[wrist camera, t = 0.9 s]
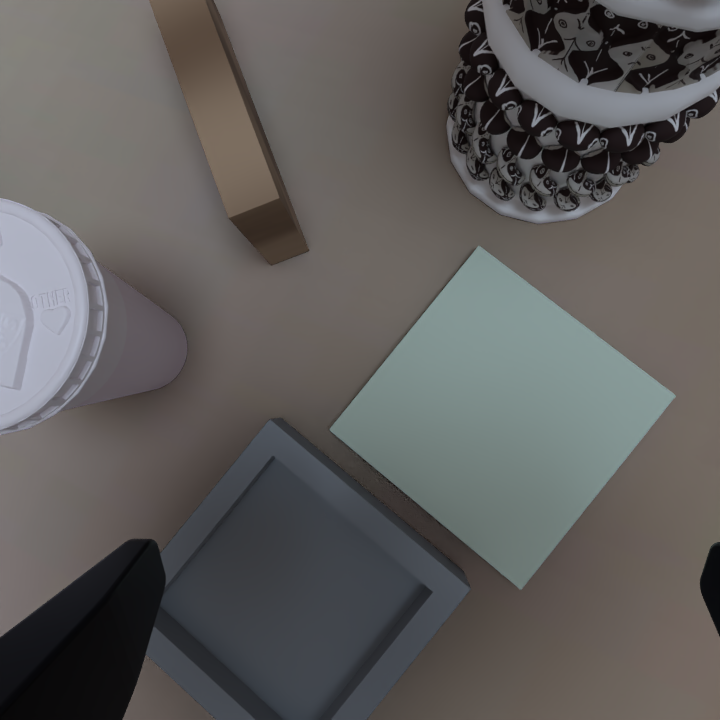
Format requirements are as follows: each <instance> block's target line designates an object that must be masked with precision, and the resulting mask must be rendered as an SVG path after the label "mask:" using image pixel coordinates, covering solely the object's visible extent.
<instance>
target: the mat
mask: <svg viewBox="0 0 720 720" xmlns="http://www.w3.org/2000/svg"><path fill="white" fill-rule="evenodd" d="M675 396H676V395H674V394H673V393H672V392H671V391H669V390H668V389H667V388H665V387H664V386H663V385H661V384H660V383H659V382H657V381H656V380H655V379H653V378H652V377H651V376H650V375H648V374H647V373H646V372H644V371H643V370H642V369H640V368H639V367H638V366H636V365H635V364H634V363H632V362H631V361H630V360H629V359H627V358H626V357H625V356H623V355H622V354H621V353H619V352H618V351H617V350H615V349H614V348H613V347H611V346H610V345H609V344H608V343H606V342H605V341H604V340H602V339H601V338H600V337H598V336H597V335H596V334H594V333H593V332H592V331H590V330H589V329H588V328H587V327H585V326H584V325H583V324H581V323H580V322H579V321H577V320H576V319H575V318H573V317H572V316H571V315H569V314H568V313H567V312H566V311H564V310H563V309H562V308H560V307H559V306H558V305H556V304H555V303H554V302H552V301H551V300H550V299H548V298H547V297H546V296H545V295H543V294H542V293H541V292H539V291H538V290H537V289H535V288H534V287H533V286H531V285H530V284H529V283H527V282H526V281H525V280H524V279H522V278H521V277H520V276H518V275H517V274H516V273H514V272H513V271H512V270H510V269H509V268H508V267H506V266H505V265H504V264H503V263H501V262H500V261H499V260H497V259H496V258H495V257H493V256H492V255H491V254H489V253H488V252H487V251H485V250H484V249H483V248H482V247H480V246H478V247H477V248H476V250H475V251H474V252H473V253H472V255H471V256H470V257H469V258H468V260H467V261H466V262H465V263H464V264H463V266H462V267H461V268H460V269H459V271H458V272H457V273H456V274H455V275H454V277H453V278H452V279H451V280H450V282H449V283H448V284H447V285H446V287H445V288H444V289H443V290H442V291H441V293H440V294H439V295H438V296H437V298H436V299H435V300H434V301H433V303H432V304H431V305H430V306H429V307H428V309H427V310H426V311H425V312H424V314H423V315H422V316H421V317H420V319H419V320H418V321H417V322H416V323H415V325H414V326H413V327H412V328H411V330H410V331H409V332H408V333H407V335H406V336H405V337H404V338H403V339H402V341H401V342H400V343H399V344H398V346H397V347H396V348H395V349H394V351H393V352H392V353H391V354H390V355H389V357H388V358H387V359H386V360H385V362H384V363H383V364H382V365H381V366H380V368H379V369H378V370H377V371H376V373H375V374H374V375H373V376H372V378H371V379H370V380H369V381H368V382H367V384H366V385H365V386H364V387H363V389H362V390H361V391H360V392H359V394H358V395H357V396H356V397H355V398H354V400H353V401H352V402H351V403H350V405H349V406H348V407H347V408H346V410H345V411H344V412H343V413H342V414H341V416H340V417H339V418H338V419H337V421H336V422H335V423H334V424H333V426H332V427H331V428H330V429H329V430H330V431H331V432H332V433H333V434H335V435H336V436H337V437H338V438H339V439H341V440H342V441H343V442H344V443H345V444H347V445H348V446H349V447H350V448H351V449H352V450H354V451H355V452H356V453H357V454H358V455H360V456H361V457H362V458H363V459H364V460H366V461H367V462H368V463H369V464H370V465H372V466H373V467H374V468H375V469H376V470H378V471H379V472H380V473H381V474H382V475H384V476H385V477H386V478H387V479H388V480H390V481H391V482H392V483H393V484H394V485H396V486H397V487H398V488H399V489H400V490H402V491H403V492H404V493H405V494H406V495H408V496H409V497H410V498H411V499H412V500H414V501H415V502H416V503H417V504H418V505H420V506H421V507H422V508H423V509H424V510H426V511H427V512H428V513H429V514H430V515H432V516H433V517H434V518H435V519H436V520H438V521H439V522H440V523H441V524H442V525H444V526H445V527H446V528H447V529H448V530H450V531H451V532H452V533H453V534H454V535H456V536H457V537H458V538H459V539H460V540H462V541H463V542H464V543H465V544H466V545H468V546H469V547H470V548H471V549H472V550H474V551H475V552H476V553H477V554H478V555H480V556H481V557H482V558H483V559H484V560H486V561H487V562H488V563H489V564H490V565H492V566H493V567H494V568H495V569H496V570H498V571H499V572H500V573H501V574H502V575H504V576H505V577H506V578H507V579H508V580H510V581H511V582H512V583H513V584H514V585H515V586H517V587H518V588H519V589H520V590H521V589H522V588H523V587H524V586H525V584H526V583H527V582H528V581H529V579H530V578H531V577H532V576H533V574H534V573H535V572H536V571H537V569H538V568H539V567H540V566H541V564H542V563H543V562H544V561H545V559H546V558H547V557H548V556H549V554H550V553H551V552H552V551H553V549H554V548H555V547H556V546H557V544H558V543H559V542H560V541H561V539H562V538H563V537H564V536H565V534H566V533H567V532H568V531H569V529H570V528H571V527H572V526H573V524H574V523H575V522H576V520H577V519H578V518H579V517H580V515H581V514H582V513H583V512H584V510H585V509H586V508H587V507H588V505H589V504H590V503H591V502H592V500H593V499H594V498H595V497H596V495H597V494H598V493H599V492H600V490H601V489H602V488H603V487H604V485H605V484H606V483H607V482H608V480H609V479H610V478H611V477H612V475H613V474H614V473H615V472H616V470H617V469H618V468H619V467H620V465H621V464H622V463H623V462H624V460H625V459H626V458H627V457H628V455H629V454H630V453H631V452H632V450H633V449H634V448H635V447H636V445H637V444H638V443H639V442H640V440H641V439H642V438H643V437H644V435H645V434H646V433H647V432H648V430H649V429H650V428H651V426H652V425H653V424H654V423H655V421H656V420H657V419H658V418H659V416H660V415H661V414H662V413H663V411H664V410H665V409H666V408H667V406H668V405H669V404H670V403H671V401H672V400H673V399H674V398H675Z"/></svg>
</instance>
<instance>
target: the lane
mask: <svg viewBox="0 0 720 720" xmlns="http://www.w3.org/2000/svg"><path fill="white" fill-rule="evenodd" d="M149 1H150V4H151V7H152V9H153V12H154V15H155V18H156V20H157V23H158V26H159V29H160V31H161V34H162V37H163V40H164V42H165V45H166V48H167V51H168V53H169V56H170V59H171V62H172V64H173V67H174V70H175V73H176V75H177V78H178V81H179V84H180V86H181V89H182V92H183V94H184V97H185V100H186V103H187V105H188V108H189V111H190V114H191V116H192V119H193V122H194V125H195V127H196V130H197V133H198V136H199V138H200V141H201V144H202V147H203V149H204V152H205V155H206V158H207V160H208V163H209V166H210V169H211V171H212V174H213V177H214V179H215V182H216V185H217V188H218V190H219V193H220V196H221V199H222V201H223V204H224V207H225V210H226V212H227V215H228V218H229V219H230V220H231V221H232V222H233V224H234V225H235V226H236V227H237V228H238V229H239V230H240V231H241V232H242V234H243V235H244V236H245V237H246V238H247V239H248V240H249V241H250V242H251V243H252V245H253V246H254V247H255V248H256V249H257V250H258V251H259V252H260V253H261V255H262V256H263V257H264V258H265V259H266V260H267V261H268V262H269V263H270V264H271V265H274V264H276V263H279V262H281V261H284V260H286V259H289V258H292V257H294V256H297V255H299V254H302V253H304V252H307V251H309V249H308V246H307V244H306V241H305V238H304V236H303V233H302V231H301V228H300V225H299V223H298V220H297V217H296V215H295V212H294V209H293V207H292V204H291V201H290V199H289V196H288V193H287V191H286V188H285V186H284V183H283V180H282V178H281V175H280V172H279V170H278V167H277V164H276V162H275V159H274V156H273V154H272V151H271V149H270V146H269V143H268V141H267V138H266V135H265V133H264V130H263V127H262V125H261V122H260V119H259V117H258V114H257V112H256V109H255V106H254V104H253V101H252V98H251V96H250V93H249V90H248V88H247V85H246V82H245V80H244V77H243V75H242V72H241V69H240V67H239V64H238V61H237V59H236V56H235V53H234V51H233V48H232V45H231V43H230V40H229V37H228V35H227V32H226V30H225V27H224V24H223V22H222V19H221V16H220V14H219V12H218V9H217V7H216V5H215V3H214V1H213V0H149Z"/></svg>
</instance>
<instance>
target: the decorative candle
mask: <svg viewBox="0 0 720 720" xmlns="http://www.w3.org/2000/svg"><path fill="white" fill-rule="evenodd" d="M465 22H466V24H467V26H468V28H469V29H470V31H469V32H468V33H467V34H466V35H465V36H464V37H463V38H462V40H461V42H460V45H459V54H460V57H461V62H460V63H459V65H458V66H457V68H456V69H455V71H454V74H453V76H452V80H451V86H452V90H453V92H452V93H451V95H450V97H449V100H448V103H447V109H448V113H449V116H448V120H447V124H446V128H447V136H448V143H449V151H450V158H451V162H452V164H453V166H454V167H455V169H456V171H457V172H458V174H459V176H460V177H461V179H462V180H463V182H464V184H465V185H466V187H467V189H468V190H469V192H470V193H471V194H472V195H474V196H475V197H477V198H478V199H479V200H481V201H482V202H483V203H485V204H486V205H488V206H489V207H490V208H492V209H493V210H494V211H496V212H497V213H498V214H500V215H503V216H507V217H511V218H515V219H519V220H523V221H527V222H531V223H535V224H543V223H550V222H558V221H565V220H573V219H577V218H579V217H581V216H583V215H584V214H586V213H588V212H590V211H591V210H593V209H595V208H597V207H599V206H600V205H602V204H604V203H606V202H607V201H609V200H611V199H612V198H613V197H614V195H615V194H616V193H617V192H618V190H619V189H620V188H621V186H622V185H623V184H625V183H631V182H633V181H635V179H636V178H637V177H638V175H639V167H638V165H637V164H642V165H644V166H650V165H652V164H654V163H655V162H656V161H657V160H658V158H659V155H660V149H659V147H658V146H659V142H664V143H673V142H675V141H677V140H678V139H680V138H681V137H682V136H683V135H684V133H685V132H686V130H687V129H688V126H689V122H690V118H701V117H703V116H705V115H706V114H708V113H709V112H710V111H711V110H712V109H713V108H714V107H715V105H716V104H717V102H718V100H719V97H720V0H471V1H470V3H469V4H468V6H467V9H466V11H465Z"/></svg>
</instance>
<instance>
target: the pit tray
mask: <svg viewBox="0 0 720 720" xmlns="http://www.w3.org/2000/svg"><path fill="white" fill-rule="evenodd" d="M160 555H161V559H162V563H163V566H164V570H165V574H166V585H165V590H164V593H163V597H162V600H161V604H160V607H159V610H158V614H157V617H156V621H155V624H154V627H153V631H152V634H151V638H150V641H149V644H148V648H147V651H146V655H147V656H148V657H149V658H151V659H152V660H153V661H154V662H155V663H156V664H157V665H158V666H159V667H160V668H161V669H162V670H163V671H165V672H166V673H167V674H168V675H169V676H170V677H171V678H172V679H173V680H174V681H175V682H176V683H177V684H178V685H180V686H181V687H182V688H183V689H184V690H185V691H186V692H187V693H188V694H189V695H190V696H191V697H192V698H194V699H195V700H196V701H197V702H198V703H199V704H200V705H201V706H202V707H203V708H204V709H205V710H206V711H208V712H209V713H210V714H211V715H212V716H213V717H214V718H215V719H216V720H366V719H367V718H368V717H369V716H370V714H371V713H372V712H373V711H374V709H375V708H376V707H377V706H378V704H379V703H380V702H381V701H382V699H383V698H384V697H385V696H386V694H387V693H388V692H389V691H390V689H391V688H392V687H393V686H394V684H395V683H396V682H397V681H398V680H399V678H400V677H401V676H402V675H403V673H404V672H405V671H406V670H407V668H408V667H409V666H410V665H411V663H412V662H413V661H414V660H415V658H416V657H417V656H418V655H419V653H420V652H421V651H422V650H423V648H424V647H425V646H426V645H427V643H428V642H429V641H430V640H431V638H432V637H433V636H434V635H435V633H436V632H437V631H438V630H439V628H440V627H441V626H442V625H443V623H444V622H445V621H446V620H447V618H448V617H449V616H450V615H451V613H452V612H453V611H454V610H455V608H456V607H457V606H458V605H459V603H460V602H461V601H462V600H463V598H464V597H465V596H466V595H467V593H468V592H469V591H470V590H471V588H470V586H469V583H468V581H467V578H466V576H465V574H464V571H463V570H461V569H460V568H459V567H458V566H457V565H455V564H454V563H453V562H452V561H451V560H450V559H448V558H447V557H446V556H445V555H444V554H442V553H441V552H440V551H439V550H438V549H436V548H435V547H434V546H433V545H432V544H430V543H429V542H428V541H427V540H426V539H425V538H423V537H422V536H421V535H420V534H419V533H417V532H416V531H415V530H414V529H413V528H411V527H410V526H409V525H408V524H407V523H406V522H404V521H403V520H402V519H401V518H400V517H398V516H397V515H396V514H395V513H394V512H392V511H391V510H390V509H389V508H388V507H386V506H385V505H384V504H383V503H382V502H381V501H379V500H378V499H377V498H376V497H375V496H373V495H372V494H371V493H370V492H369V491H367V490H366V489H365V488H364V487H363V486H362V485H360V484H359V483H358V482H357V481H356V480H354V479H353V478H352V477H351V476H350V475H348V474H347V473H346V472H345V471H344V470H343V469H341V468H340V467H339V466H338V465H337V464H335V463H334V462H333V461H332V460H331V459H329V458H328V457H327V456H326V455H325V454H323V453H322V452H321V451H320V450H319V449H318V448H316V447H315V446H314V445H313V444H312V443H310V442H309V441H308V440H307V439H306V438H304V437H303V436H302V435H301V434H300V433H299V432H297V431H296V430H295V429H294V428H293V427H291V426H290V425H289V424H288V423H287V422H285V421H284V420H283V419H282V418H281V417H280V418H274V419H269V421H268V422H267V423H266V424H265V426H264V427H263V428H262V429H261V431H260V432H259V433H258V434H257V435H256V437H255V438H254V439H253V440H252V442H251V443H250V444H249V445H248V446H247V448H246V449H245V450H244V451H243V453H242V454H241V455H240V456H239V457H238V459H237V460H236V461H235V462H234V464H233V465H232V466H231V467H230V468H229V470H228V471H227V472H226V473H225V475H224V476H223V477H222V478H221V479H220V481H219V482H218V483H217V484H216V486H215V487H214V488H213V489H212V491H211V492H210V493H209V494H208V495H207V497H206V498H205V499H204V500H203V502H202V503H201V504H200V505H199V506H198V508H197V509H196V510H195V511H194V513H193V514H192V515H191V516H190V517H189V519H188V520H187V521H186V522H185V524H184V525H183V526H182V527H181V528H180V530H179V531H178V532H177V533H176V535H175V536H174V537H173V538H172V540H171V541H170V542H169V543H168V544H167V546H166V547H165V548H164V549H163V551H162V552H161V553H160Z"/></svg>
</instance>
